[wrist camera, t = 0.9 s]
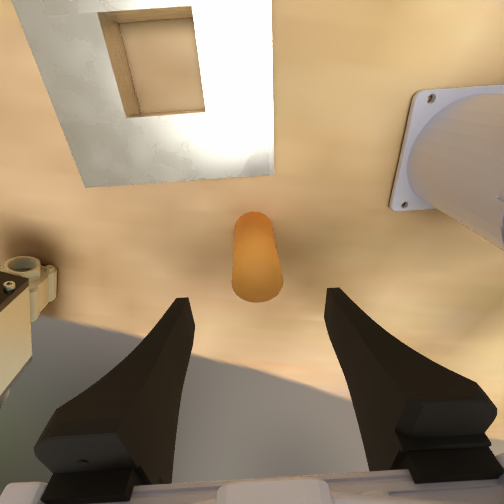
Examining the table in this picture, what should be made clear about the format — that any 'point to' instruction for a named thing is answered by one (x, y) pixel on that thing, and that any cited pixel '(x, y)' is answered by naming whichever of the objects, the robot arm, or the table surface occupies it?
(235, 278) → the orange cylinder
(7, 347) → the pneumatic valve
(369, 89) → the table surface
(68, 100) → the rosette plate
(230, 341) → the table surface
